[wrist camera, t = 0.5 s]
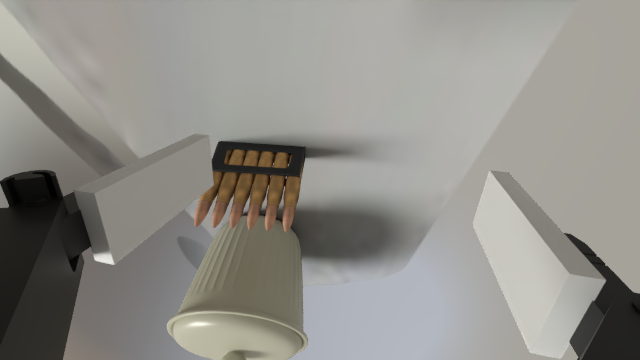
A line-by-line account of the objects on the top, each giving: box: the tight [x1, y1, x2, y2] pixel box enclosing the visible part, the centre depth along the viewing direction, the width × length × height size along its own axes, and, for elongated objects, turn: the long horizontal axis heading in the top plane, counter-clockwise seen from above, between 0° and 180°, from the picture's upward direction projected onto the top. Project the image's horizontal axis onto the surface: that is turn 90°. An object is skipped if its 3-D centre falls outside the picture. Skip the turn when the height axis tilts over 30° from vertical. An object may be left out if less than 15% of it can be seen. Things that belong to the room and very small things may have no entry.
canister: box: [167, 215, 308, 360], centre depth 44 cm, size 18×18×21 cm
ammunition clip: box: [195, 141, 305, 232], centre depth 34 cm, size 11×2×12 cm, turn 87°
